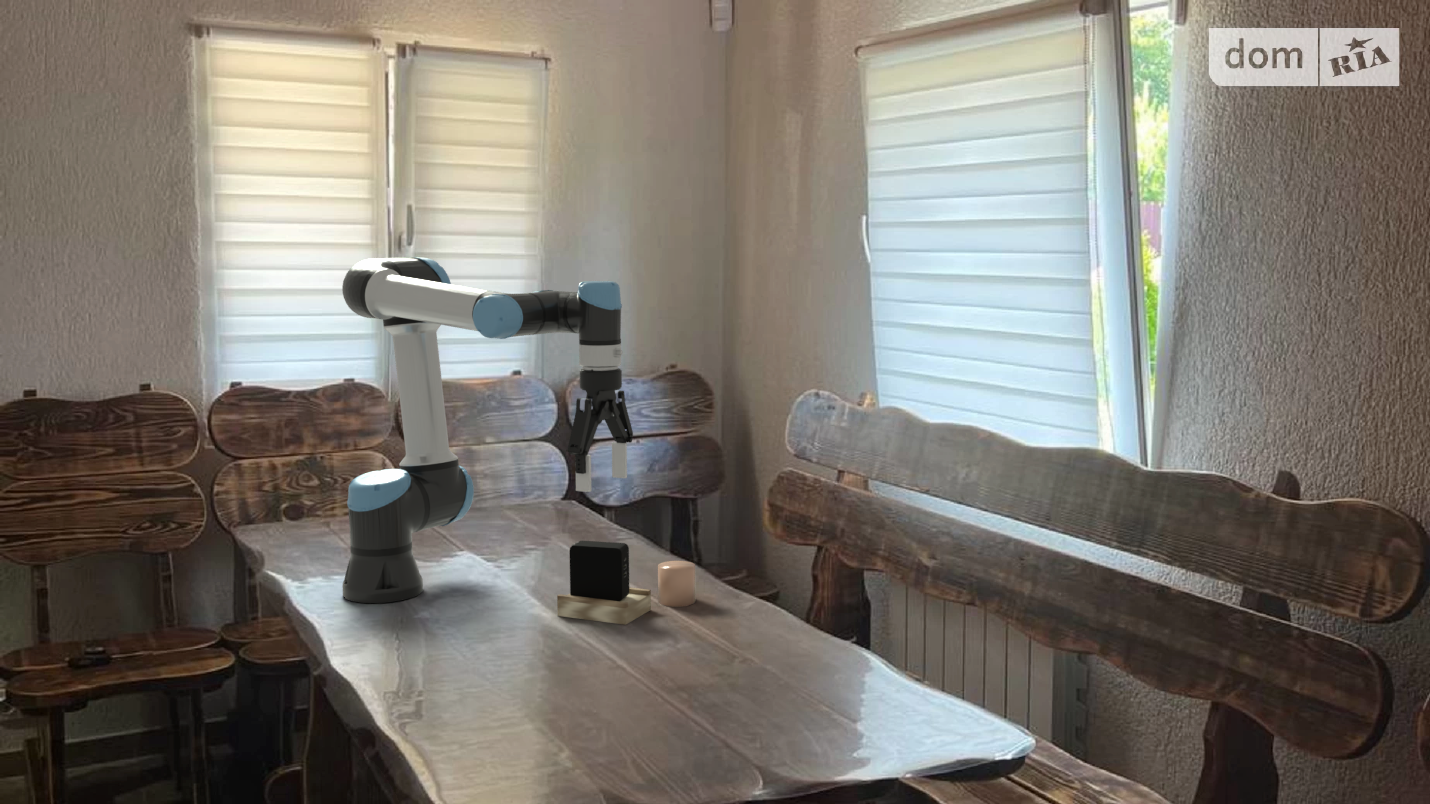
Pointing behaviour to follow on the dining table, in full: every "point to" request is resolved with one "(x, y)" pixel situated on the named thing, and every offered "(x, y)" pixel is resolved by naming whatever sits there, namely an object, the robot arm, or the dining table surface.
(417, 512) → the robot arm
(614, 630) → the dining table surface
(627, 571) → the electronic device
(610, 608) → the stand
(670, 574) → the peach rounded cylinder
